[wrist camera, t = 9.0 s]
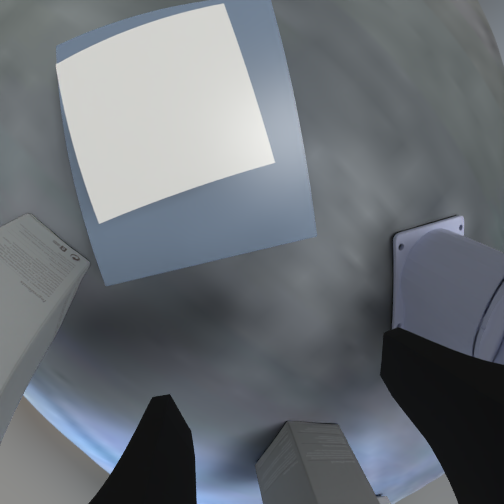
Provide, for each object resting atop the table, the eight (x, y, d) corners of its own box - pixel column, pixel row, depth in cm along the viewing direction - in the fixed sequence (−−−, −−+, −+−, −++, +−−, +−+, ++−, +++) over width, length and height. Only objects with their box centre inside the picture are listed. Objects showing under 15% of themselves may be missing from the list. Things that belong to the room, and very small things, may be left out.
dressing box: (293, 220, 19) (317, 236, 15) (123, 260, 17) (105, 286, 14) (255, 24, 14) (269, -5, 10) (82, 65, 13) (56, 45, 9)
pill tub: (245, 161, 13) (275, 162, 8) (137, 198, 13) (99, 224, 8) (213, 59, 11) (223, 3, 6) (106, 96, 11) (55, 64, 6)
